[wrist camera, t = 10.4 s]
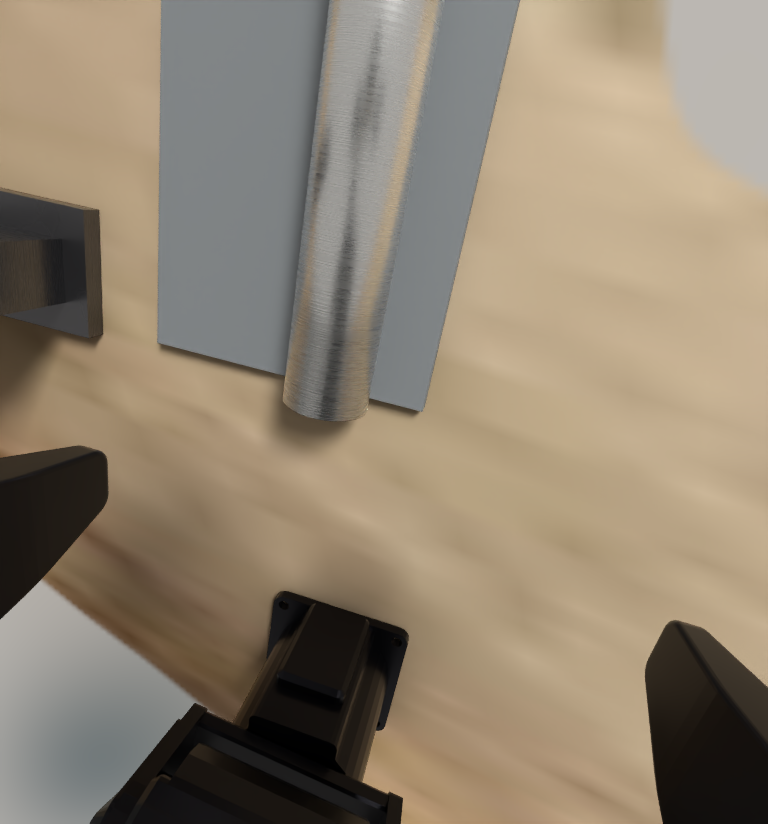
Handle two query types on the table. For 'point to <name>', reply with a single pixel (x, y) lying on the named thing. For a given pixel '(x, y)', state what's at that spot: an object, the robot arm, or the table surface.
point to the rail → (356, 197)
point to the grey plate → (303, 179)
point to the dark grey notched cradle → (50, 263)
